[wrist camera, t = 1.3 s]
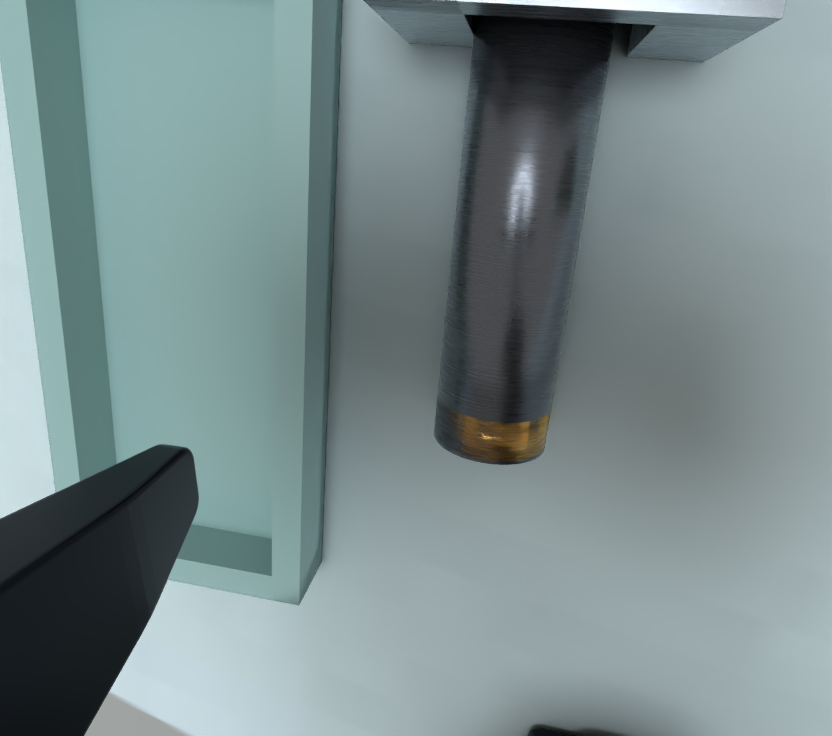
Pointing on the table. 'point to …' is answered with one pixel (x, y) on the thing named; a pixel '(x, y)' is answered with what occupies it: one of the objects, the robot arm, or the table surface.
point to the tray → (185, 255)
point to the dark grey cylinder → (517, 230)
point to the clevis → (617, 3)
